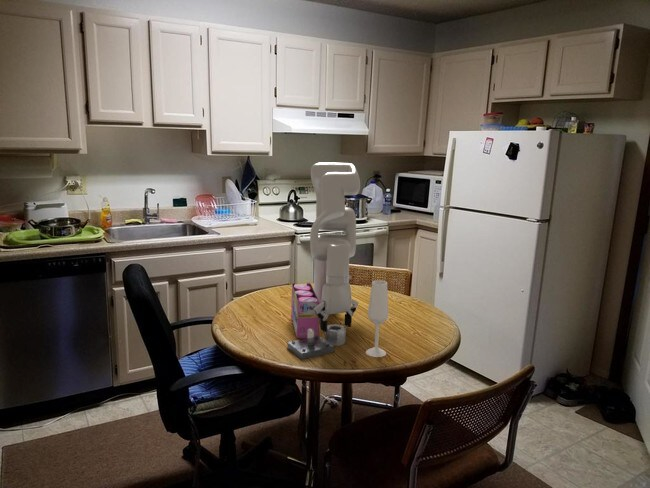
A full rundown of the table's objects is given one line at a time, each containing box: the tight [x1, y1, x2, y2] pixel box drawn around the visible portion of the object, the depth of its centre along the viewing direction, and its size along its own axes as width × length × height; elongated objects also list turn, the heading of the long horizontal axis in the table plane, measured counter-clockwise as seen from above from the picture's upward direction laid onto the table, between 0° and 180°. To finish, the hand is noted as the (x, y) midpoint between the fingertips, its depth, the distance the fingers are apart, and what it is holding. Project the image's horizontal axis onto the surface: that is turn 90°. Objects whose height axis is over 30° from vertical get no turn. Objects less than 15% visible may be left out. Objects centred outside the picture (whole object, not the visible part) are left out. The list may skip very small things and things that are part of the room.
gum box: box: [290, 282, 320, 339], centre depth 178 cm, size 24×8×14 cm, turn 10°
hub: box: [324, 323, 347, 347], centre depth 165 cm, size 7×7×5 cm
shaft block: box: [286, 329, 335, 360], centre depth 157 cm, size 12×10×7 cm
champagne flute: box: [365, 280, 389, 358], centre depth 155 cm, size 7×7×24 cm
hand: (335, 328), depth 164 cm, fingers open, 9 cm apart
